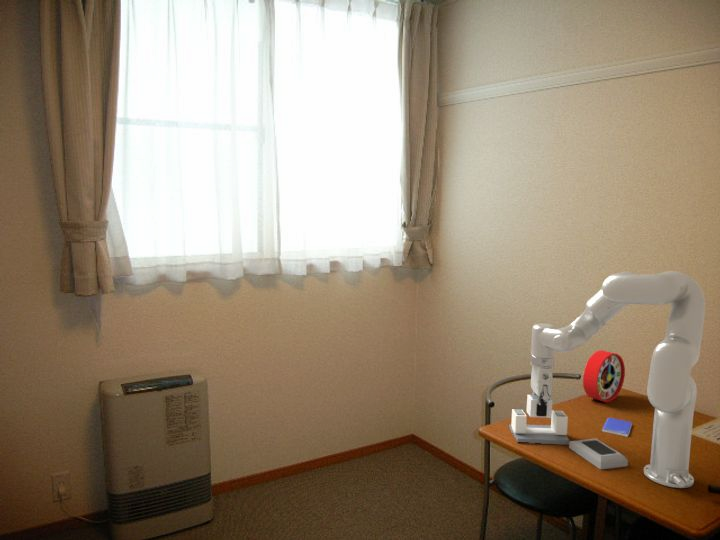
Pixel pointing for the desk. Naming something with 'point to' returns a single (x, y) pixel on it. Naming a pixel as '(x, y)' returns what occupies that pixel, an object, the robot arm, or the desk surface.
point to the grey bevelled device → (598, 453)
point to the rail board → (540, 429)
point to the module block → (532, 406)
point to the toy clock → (604, 376)
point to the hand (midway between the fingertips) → (539, 412)
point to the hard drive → (617, 427)
